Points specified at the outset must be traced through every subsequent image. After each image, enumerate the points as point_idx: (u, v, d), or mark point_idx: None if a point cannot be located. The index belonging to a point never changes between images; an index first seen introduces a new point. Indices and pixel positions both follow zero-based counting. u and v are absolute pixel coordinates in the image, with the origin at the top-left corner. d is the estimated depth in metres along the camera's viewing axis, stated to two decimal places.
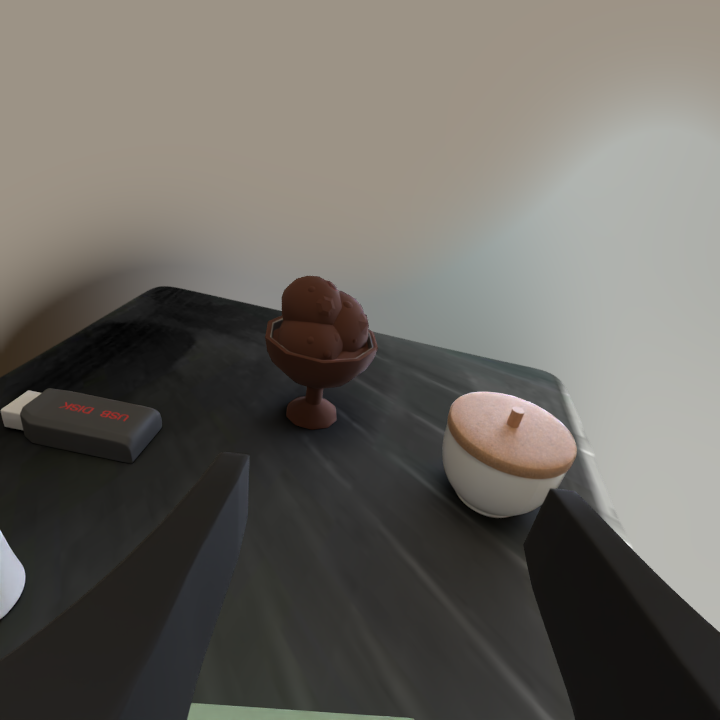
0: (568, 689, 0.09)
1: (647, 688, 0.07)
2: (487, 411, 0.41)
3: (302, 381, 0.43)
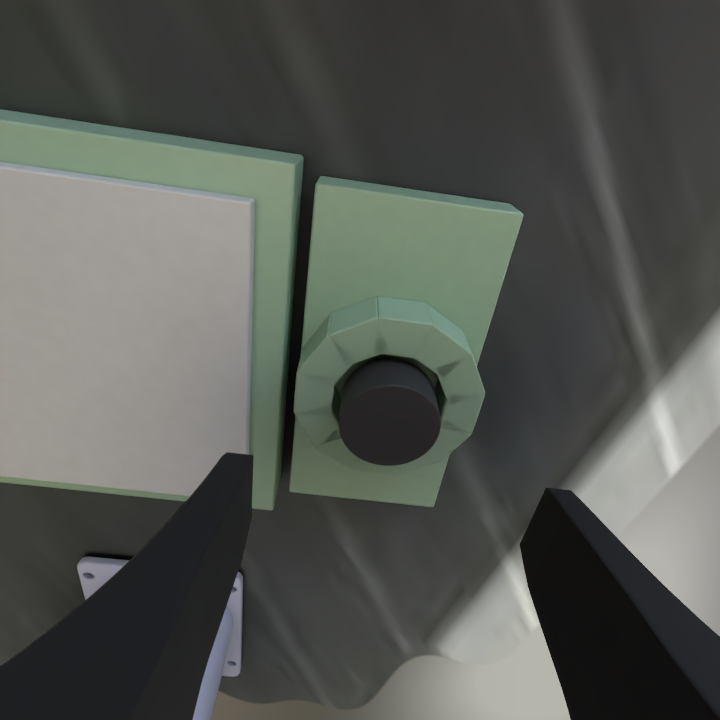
0: (564, 689, 0.09)
1: (641, 687, 0.07)
2: None
3: None
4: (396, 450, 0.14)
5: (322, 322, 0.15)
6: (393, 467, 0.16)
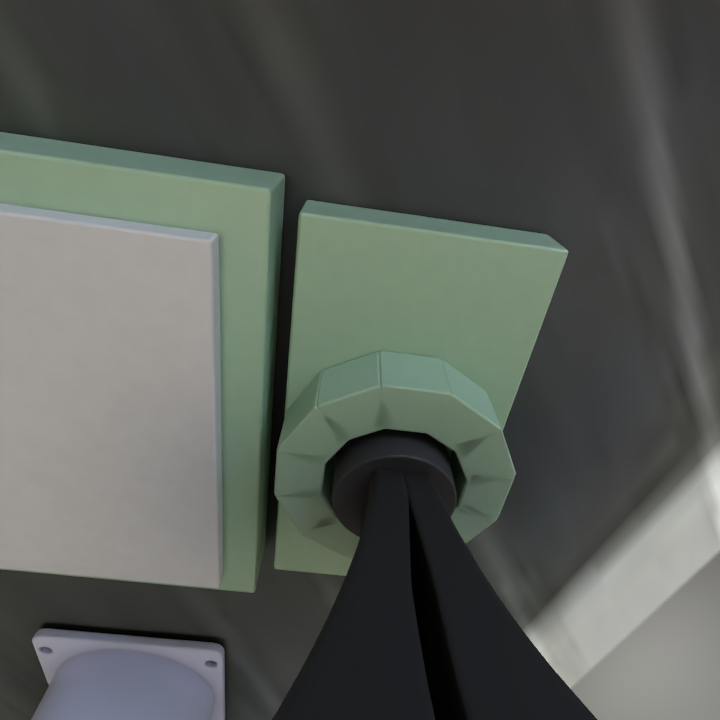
0: None
1: (431, 669, 0.07)
2: None
3: None
4: None
5: (310, 381, 0.12)
6: None
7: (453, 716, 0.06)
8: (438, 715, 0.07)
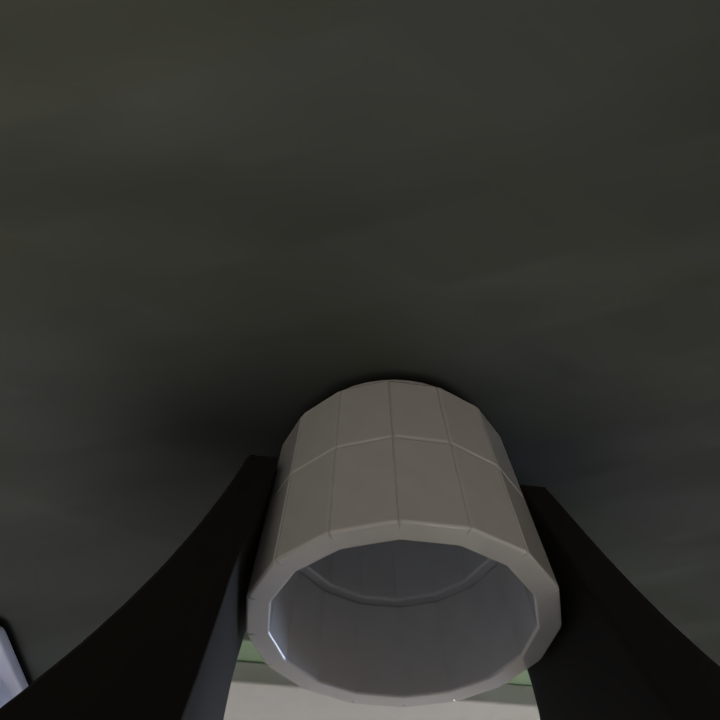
0: (534, 686, 0.09)
1: (603, 684, 0.07)
2: None
3: None
4: None
5: None
6: None
7: None
8: None
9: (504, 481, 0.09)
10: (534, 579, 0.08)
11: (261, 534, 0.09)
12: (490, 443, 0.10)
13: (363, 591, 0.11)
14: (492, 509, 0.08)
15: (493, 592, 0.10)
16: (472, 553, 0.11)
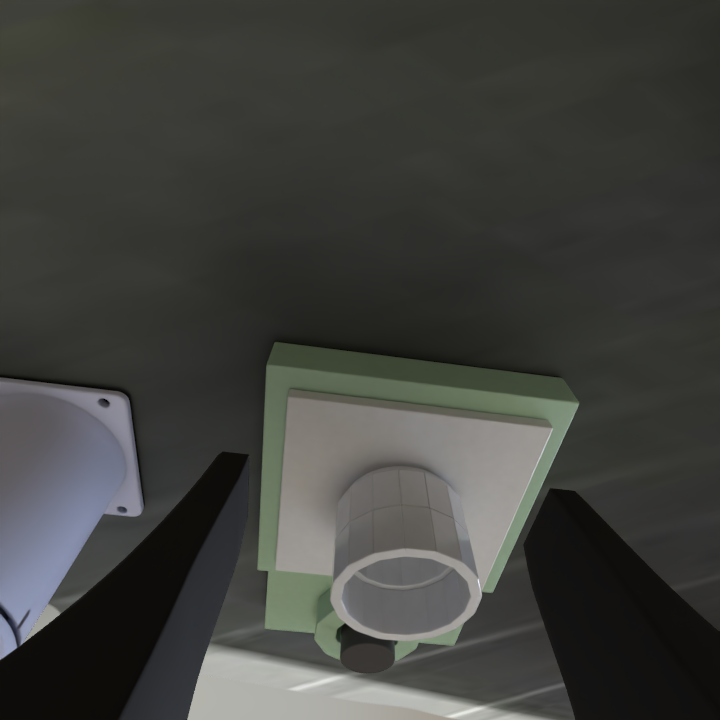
0: (568, 689, 0.09)
1: (647, 688, 0.07)
2: None
3: None
4: (352, 661, 0.25)
5: None
6: (320, 639, 0.26)
7: None
8: None
9: (455, 526, 0.18)
10: (466, 574, 0.17)
11: (335, 552, 0.18)
12: (451, 504, 0.19)
13: (383, 581, 0.21)
14: (447, 542, 0.17)
15: (453, 581, 0.19)
16: None
